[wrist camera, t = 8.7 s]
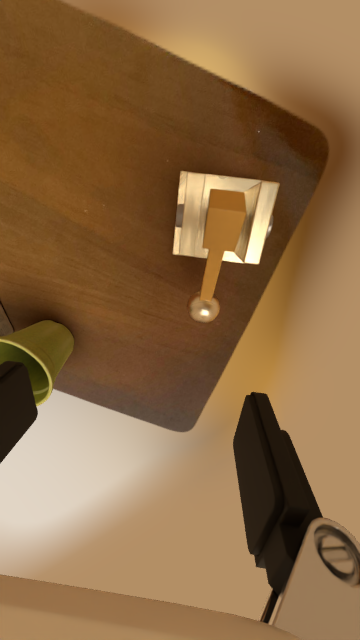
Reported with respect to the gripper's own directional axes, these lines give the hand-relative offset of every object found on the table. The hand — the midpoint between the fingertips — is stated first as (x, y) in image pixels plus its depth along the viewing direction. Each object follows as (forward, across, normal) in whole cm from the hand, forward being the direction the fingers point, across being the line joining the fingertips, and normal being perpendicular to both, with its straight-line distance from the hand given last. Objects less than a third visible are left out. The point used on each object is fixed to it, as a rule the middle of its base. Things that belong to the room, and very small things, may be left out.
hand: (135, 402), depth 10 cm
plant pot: (+20, +17, +10) cm, 28 cm away
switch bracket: (+20, -3, -7) cm, 22 cm away
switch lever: (+13, -3, -4) cm, 14 cm away
